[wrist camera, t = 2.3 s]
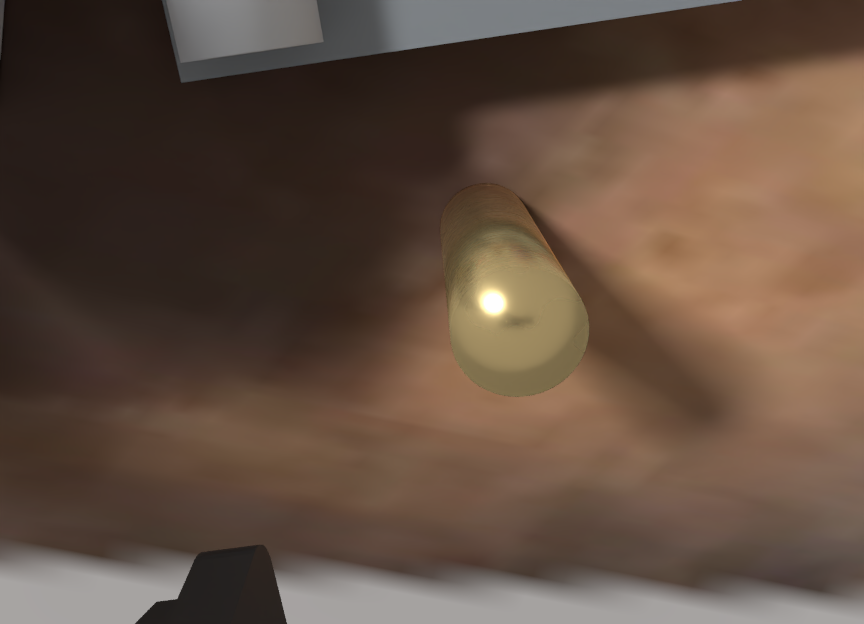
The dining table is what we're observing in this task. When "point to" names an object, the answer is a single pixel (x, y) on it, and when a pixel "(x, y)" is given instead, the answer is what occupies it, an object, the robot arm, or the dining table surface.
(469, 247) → the brass pin
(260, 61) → the hinge plate
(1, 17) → the coffee box
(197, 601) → the robot arm
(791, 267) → the dining table surface
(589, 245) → the dining table surface
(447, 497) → the dining table surface
